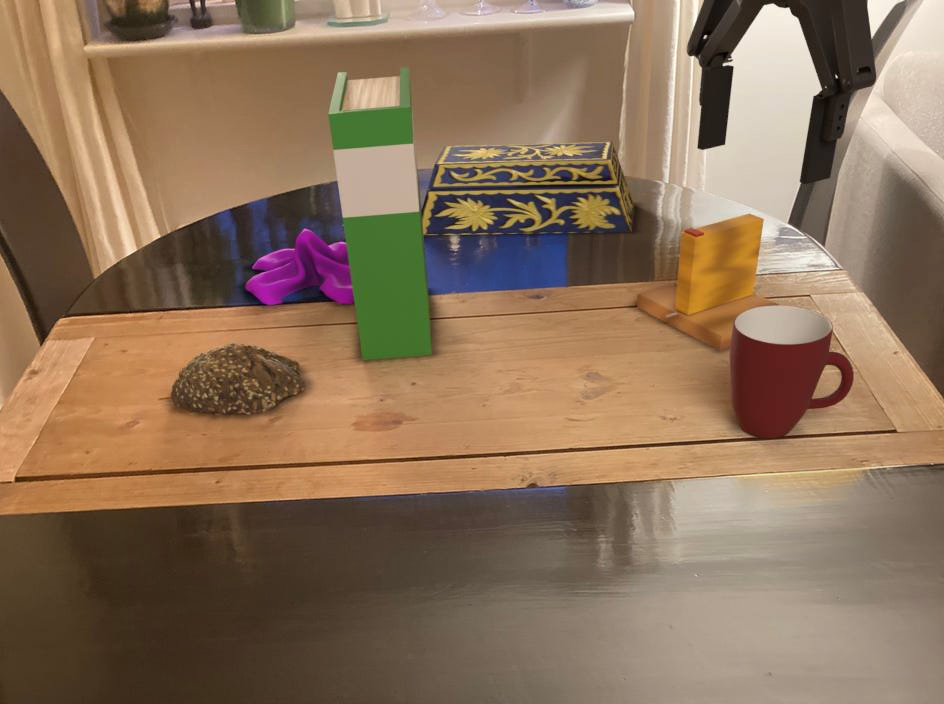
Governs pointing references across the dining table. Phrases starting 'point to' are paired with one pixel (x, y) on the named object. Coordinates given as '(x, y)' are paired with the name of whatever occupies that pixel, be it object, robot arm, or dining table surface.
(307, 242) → the cloth
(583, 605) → the dining table surface
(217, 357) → the bread roll
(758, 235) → the bar
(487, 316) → the dining table surface
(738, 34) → the robot arm
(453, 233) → the decorative box
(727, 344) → the board
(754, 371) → the mug
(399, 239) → the hardback book
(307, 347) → the dining table surface
